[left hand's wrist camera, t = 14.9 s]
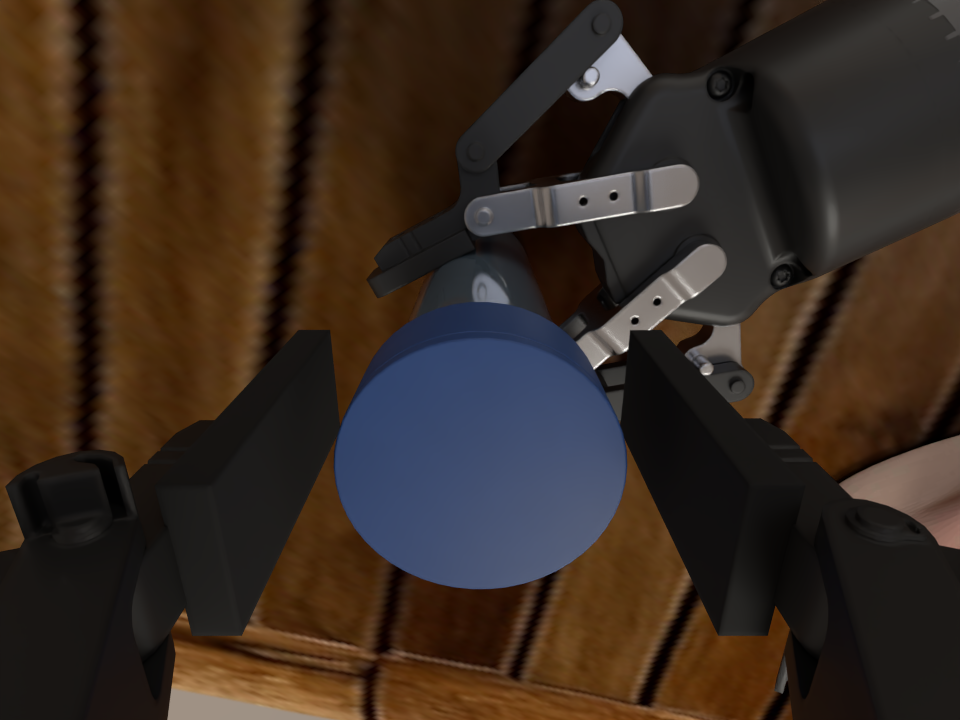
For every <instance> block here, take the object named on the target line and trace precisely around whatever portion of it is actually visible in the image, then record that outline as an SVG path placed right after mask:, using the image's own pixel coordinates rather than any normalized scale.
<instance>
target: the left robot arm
mask: <svg viewBox="0 0 960 720" xmlns="http://www.w3.org/2000/svg"><path fill="white" fill-rule="evenodd" d="M620 426H621V429H622V431H623V435H624V439H625V441H626V443H627V445H628V447H629V449H630V451H631V453H632V455H633V457H634V460H635V462H636V464H637V466H638V468H639V470H640V472H641V474H642V476H643V478H644V481H645V483H646V485H647V487H648V489H649V491H650V493H651V495H652V497H653V499H654V502H655V504H656V506H657V508H658V510H659V512H660V514H661V516H662V518H663V520H664V523H665V525H666V527H667V529H668V531H669V533H670V535H671V537H672V539H673V541H674V544H675V546H676V548H677V550H678V552H679V554H680V556H681V558H682V560H683V562H684V565H685V567H686V569H687V571H688V573H689V575H690V577H691V579H692V581H693V583H694V586H695V588H696V590H697V592H698V594H699V596H700V598H701V600H702V602H703V604H704V607H705V609H706V611H707V613H708V615H709V617H710V619H711V621H712V623H713V625H714V628H715V630H716V632H717V634H718V636H768V632H769V628H770V624H771V620H772V616H773V613H774V609H775V605H776V607H777V608H778V610H779V612H780V613H781V615H782V616H783V618H784V620H785V621H786V623H787V624H788V626H789V627H790V631H789V635H788V638H787V642H786V646H785V649H784V653H783V657H782V661H781V664H780V668H779V672H778V675H777V679H776V685H775V691H777V692H780V693H783V690H784V687H785V683H786V681H787V680H788V684H789V692H790V700H791V708H792V716H793V720H960V549H956V548H951V547H946V546H941V545H939V544H938V542H937V540H936V539H935V537H934V536H933V535H932V534H931V533H930V532H929V530H928V529H927V528H926V527H925V526H924V525H922V524H921V523H920V522H918V521H917V520H915V519H914V518H912V517H911V516H909V515H908V514H905V513H903V512H901V511H899V510H896V509H894V508H892V507H890V506H887V505H884V504H880V503H877V502H873V501H869V500H865V499H854V498H852V497H851V496H850V495H849V494H848V493H847V492H846V491H845V490H844V489H843V488H842V487H841V486H840V485H839V484H838V483H837V482H836V481H835V480H834V479H833V478H832V477H831V476H830V475H829V474H828V473H827V472H826V471H825V470H824V469H822V468H821V467H820V466H819V465H818V464H817V463H816V462H813V459H812V458H811V457H810V456H809V455H808V454H807V453H806V452H805V451H804V450H803V449H800V446H799V445H798V444H797V443H796V442H795V441H794V440H793V439H792V438H791V437H790V436H789V435H788V434H787V433H785V432H784V431H783V430H781V429H779V428H777V427H775V426H774V425H772V424H770V423H768V422H766V421H764V420H762V419H761V418H743V417H742V416H741V415H740V414H739V413H738V412H737V411H736V410H735V409H734V408H733V407H732V406H731V405H730V404H729V402H728V401H727V400H726V399H725V398H724V397H723V396H722V395H721V394H720V393H719V392H718V391H717V390H716V388H715V387H714V386H713V385H712V384H711V383H710V382H709V381H708V380H707V379H706V378H705V377H704V376H703V374H702V373H701V372H700V371H699V370H698V369H697V368H696V367H695V366H694V365H693V364H692V363H691V362H690V361H689V359H688V358H687V357H686V356H685V355H684V354H683V353H682V352H681V351H680V350H679V349H678V348H677V347H676V345H675V344H674V343H673V342H672V341H671V340H670V339H669V338H668V337H667V336H666V335H665V334H664V333H663V331H662V330H630V336H629V345H628V355H627V365H626V374H625V384H624V393H623V403H622V413H621V422H620ZM339 429H340V422H339V413H338V403H337V393H336V384H335V374H334V365H333V355H332V345H331V336H330V330H298V331H297V333H296V334H295V335H294V336H293V337H292V338H291V339H290V340H289V341H288V342H287V343H286V344H285V345H284V347H283V348H282V349H281V350H280V351H279V352H278V353H277V354H276V355H275V356H274V357H273V358H272V359H271V361H270V362H269V363H268V364H267V365H266V366H265V367H264V368H263V369H262V370H261V371H260V372H259V373H258V374H257V376H256V377H255V378H254V379H253V380H252V381H251V382H250V383H249V384H248V385H247V386H246V387H245V388H244V390H243V391H242V392H241V393H240V394H239V395H238V396H237V397H236V398H235V399H234V400H233V401H232V402H231V404H230V405H229V406H228V407H227V408H226V409H225V410H224V411H223V412H222V413H221V414H220V415H219V416H218V417H217V419H216V420H200V421H198V422H196V423H194V424H192V425H190V426H189V427H187V428H185V429H183V430H181V431H179V432H178V433H176V434H175V435H174V436H173V437H172V438H171V439H170V440H169V441H168V442H167V443H166V444H165V445H164V446H163V447H162V448H161V451H158V452H157V453H156V454H154V455H153V456H152V457H151V458H150V459H149V460H148V464H144V465H143V466H142V467H141V468H140V469H139V470H138V471H137V472H136V473H135V474H134V475H133V476H132V477H131V478H130V479H129V476H128V473H127V469H126V465H125V462H124V458H123V457H122V456H120V455H119V454H117V453H116V452H112V451H104V450H91V451H79V452H75V453H71V454H66V455H62V456H58V457H55V458H52V459H50V460H47V461H44V462H42V463H39V464H36V465H34V466H33V467H31V468H29V469H27V470H26V471H24V472H22V473H20V474H19V475H17V476H16V477H15V478H14V479H13V480H12V481H11V482H10V483H9V484H8V485H6V486H5V487H6V490H7V492H8V495H9V498H10V500H11V503H12V506H13V509H14V511H15V514H16V517H17V519H18V522H19V525H20V527H21V530H22V533H23V536H24V538H25V540H24V542H23V543H22V545H21V547H20V548H17V549H12V550H7V551H2V552H0V720H167V717H168V710H169V702H170V694H171V686H172V678H173V670H174V662H175V648H174V642H173V638H172V635H171V629H172V627H173V626H174V624H175V623H176V621H177V619H178V618H179V616H180V615H181V613H182V611H183V610H184V608H185V609H186V613H187V616H188V620H189V624H190V628H191V632H192V636H242V634H243V632H244V630H245V628H246V625H247V623H248V621H249V619H250V617H251V615H252V613H253V611H254V609H255V607H256V604H257V602H258V600H259V598H260V596H261V594H262V592H263V590H264V588H265V586H266V583H267V581H268V579H269V577H270V575H271V573H272V571H273V569H274V567H275V565H276V562H277V560H278V558H279V556H280V554H281V552H282V550H283V548H284V546H285V544H286V541H287V539H288V537H289V535H290V533H291V531H292V529H293V527H294V525H295V523H296V520H297V518H298V516H299V514H300V512H301V510H302V508H303V506H304V504H305V502H306V499H307V497H308V495H309V493H310V491H311V489H312V487H313V485H314V483H315V481H316V478H317V476H318V474H319V472H320V470H321V468H322V466H323V464H324V462H325V460H326V457H327V455H328V453H329V451H330V449H331V447H332V445H333V443H334V441H335V439H336V437H337V434H338V432H339Z"/></svg>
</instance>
